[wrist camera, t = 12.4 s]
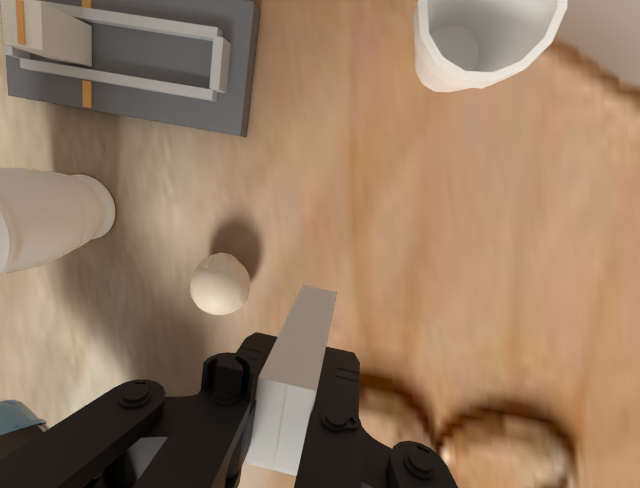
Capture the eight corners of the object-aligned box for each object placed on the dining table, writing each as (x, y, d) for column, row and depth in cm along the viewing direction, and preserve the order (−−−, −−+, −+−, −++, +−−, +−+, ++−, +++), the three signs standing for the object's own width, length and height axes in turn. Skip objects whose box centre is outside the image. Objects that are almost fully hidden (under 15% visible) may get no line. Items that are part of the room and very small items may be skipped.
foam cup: (503, 9, 34) (586, -79, 21) (485, 110, 36) (550, 84, 23) (405, 6, 35) (428, -80, 22) (393, 104, 37) (408, 77, 24)
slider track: (246, 137, 40) (233, 134, 36) (24, 98, 42) (-10, 92, 38) (260, 9, 36) (247, -8, 33) (18, -26, 39) (-20, -46, 35)
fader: (91, 66, 38) (40, 49, 32) (58, 61, 38) (1, 43, 32) (91, 26, 37) (38, 0, 31) (57, 20, 37) (-2, -6, 31)
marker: (92, 108, 39) (90, 108, 39) (84, 106, 39) (82, 106, 39) (91, -20, 36) (90, -21, 36) (82, -21, 36) (81, -22, 36)
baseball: (257, 249, 43) (238, 265, 36) (256, 303, 45) (238, 327, 38) (205, 244, 44) (178, 259, 37) (206, 298, 45) (180, 321, 39)
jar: (112, 160, 42) (-19, 161, 28) (134, 241, 45) (24, 280, 30) (38, 172, 44) (-121, 179, 30) (63, 250, 46) (-74, 291, 32)
